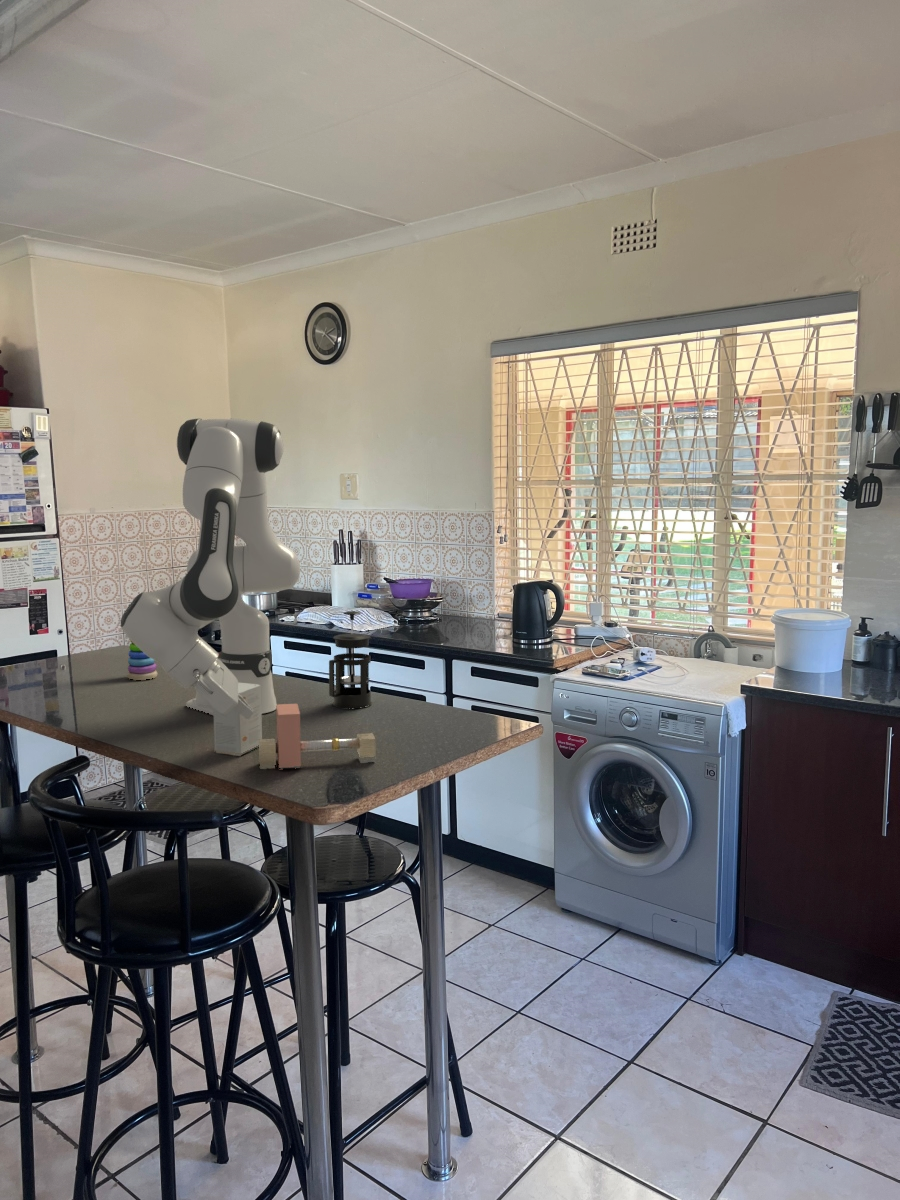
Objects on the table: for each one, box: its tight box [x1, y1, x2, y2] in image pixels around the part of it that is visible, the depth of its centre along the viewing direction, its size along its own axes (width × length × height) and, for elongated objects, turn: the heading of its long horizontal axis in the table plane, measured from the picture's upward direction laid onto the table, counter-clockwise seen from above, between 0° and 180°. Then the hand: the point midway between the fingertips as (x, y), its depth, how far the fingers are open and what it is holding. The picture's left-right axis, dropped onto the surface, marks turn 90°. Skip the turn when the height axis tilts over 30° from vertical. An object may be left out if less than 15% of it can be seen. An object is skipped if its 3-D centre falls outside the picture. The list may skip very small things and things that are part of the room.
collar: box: [275, 703, 302, 769], centre depth 172 cm, size 4×8×10 cm, turn 13°
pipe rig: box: [258, 732, 376, 767], centre depth 174 cm, size 22×4×5 cm, turn 103°
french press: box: [328, 610, 373, 710], centre depth 219 cm, size 12×9×23 cm
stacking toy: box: [126, 639, 158, 681], centre depth 246 cm, size 8×8×19 cm
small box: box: [212, 683, 263, 753], centre depth 182 cm, size 8×6×13 cm
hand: (250, 714), depth 170 cm, fingers closed
